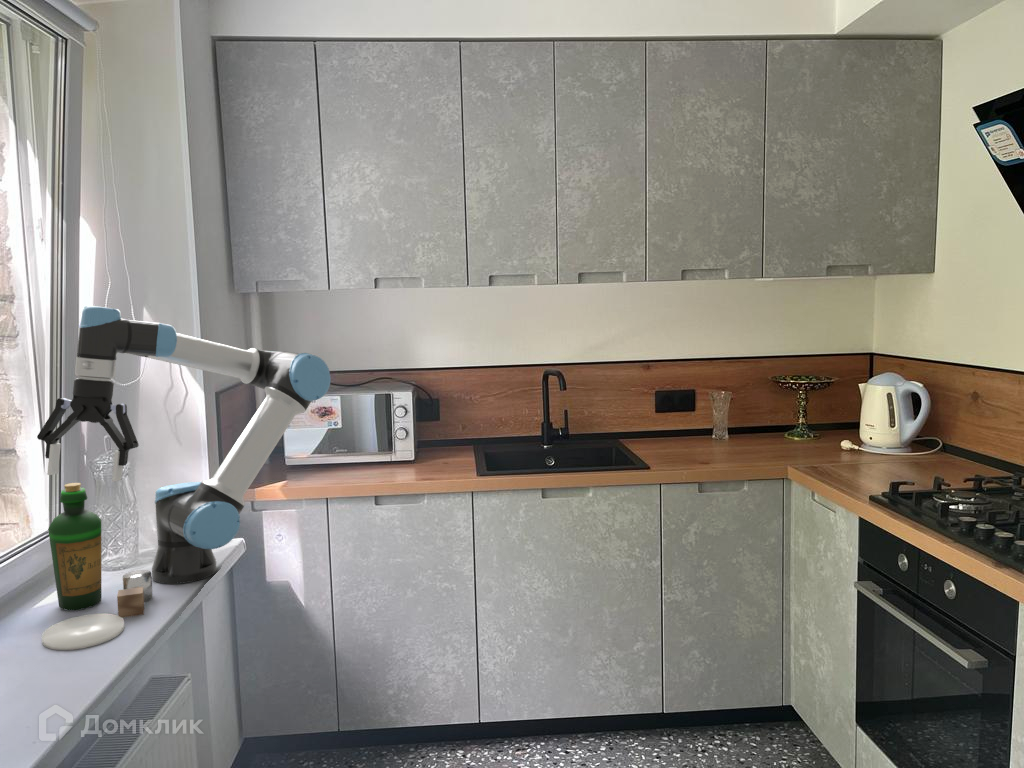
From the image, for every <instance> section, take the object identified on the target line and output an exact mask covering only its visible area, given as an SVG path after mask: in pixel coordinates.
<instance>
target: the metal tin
mask: <svg viewBox="0 0 1024 768" xmlns="http://www.w3.org/2000/svg"><path fill="white" fill-rule="evenodd" d="M152 582H153V579H152V570H148V569H139V570H133V571H132V570H131V571H130V572H126V573H125V574H123V575H122V590H124V589H131V588H139V587H143V590H144V604H145V603H147V602H150V601H151V600H152V599H153V597H154V596H153V583H152Z"/></svg>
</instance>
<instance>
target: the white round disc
mask: <svg viewBox="0 0 1024 768" xmlns="http://www.w3.org/2000/svg"><path fill="white" fill-rule="evenodd" d="M124 629H125V620H124V618H122V617H120V616H118V614H111V613H91V614H83V615H79V616H75V617H70V618H67V619H64V620H62V621H58V622H57V623H55V624H53V625H50V627H47V628H46V629H45V630H44V631H43V632H42V635H41V643H42V645H43V646H44V647H45V648H47V649H50V650H56V651H73V650H80V649H84V648H85V649H86V648H91V647H94V646H97V645H100V644H103V643H106V642H108V641H110V640H112V639H115V638H116V637H118V636H119V635H120V634H122V632H123V631H124Z"/></svg>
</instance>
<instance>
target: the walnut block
mask: <svg viewBox="0 0 1024 768" xmlns="http://www.w3.org/2000/svg"><path fill="white" fill-rule="evenodd" d="M116 596H117V598H116V599H117V600H116V601H117V615H118V616H120V617H122V618H123V619H125V618H127V617H128V618H129V617H136V616H143V615H145V603H144V590H143V587H139V588H131V589H124V590H123V589H118V590H117V595H116Z"/></svg>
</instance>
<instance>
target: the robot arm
mask: <svg viewBox="0 0 1024 768" xmlns="http://www.w3.org/2000/svg"><path fill="white" fill-rule="evenodd" d="M80 313H81V314H80V319H79V325H78V337H77V339H78V340H77V351H76V360H75V368H74V375H75V376H77V378H75V379H74V380H73V387H72V390H73V391H72V395H73V396H72V399H69V398H67V397H61V398H57V399H56V400H55V401H56V402H55V407H54V408H53V411H52V412H51V414H50V415H49V417H48V419H47V420H46V422H44V425H43V427H42V428H41V430H40V431H39V433H38V434H37V438H36V439H38V440H39V441H42V442H44V443H45V446H46V447H45V455H44V456H45V459H47V460H48V465H47V474H46V475H48V476H53V475H58V474H59V468H60V456H61V449H62V448H61V447H62V443H60V442H59V440H60V439H62V437H64V436H65V435H66V434H67V433H68V432H69V431H70V430H71V429H72V428H74V426H75V425H76V424H77V423H79V422H82V423H83V422H84V423H85V422H89V423H93V424H97V423H99V425H100V426H102V427H103V428H104V430H105V431H106V433H107V434H108V435H109V436H110V438H111V440H112V441H113V442H114V444H115V445H116V447H117V448H118V449H117V450H114V455H113V456H114V457H113V467H112V477H111V481H112V482H119V481H122V479H123V471H124V470H123V469H124V466H127V465H128V459H129V451H130V450H132V449H135V448H136V449H137V448H138V447H139V446H140V445H139V442H138V438H137V437H136V434H135V430H134V429H133V426H132V424H131V421H130V419H129V415H128V406H127V404H126V403H118V404H113V401H112V400H113V396H114V385H115V384H114V382H113V381H112V380H113V379H114V378H115V377H116V361H117V354H129V355H133V356H138V357H142V358H147V359H153V360H156V361H162V362H165V363H169V364H174V365H178V366H181V367H182V366H183V367H188V368H191V369H197V370H201V371H205V372H209V373H214V374H217V375H218V374H219V375H223V376H227V377H231V378H236V379H240V381H241V382H242V383H243V384H245V385H249V386H254V387H257V388H260V389H263V390H264V391H265V398H264V399H263V401H262V403H261V404H260V405H259V407H258V408H257V410H256V411H255V413H254V415H253V416H252V417H251V419H250V421H249V422H248V424H247V425H246V427H244V430H243V431H242V433H241V434H240V436H238V438H237V440H236V442H235V443H234V445H233V446H232V448H231V449H230V450H229V452H228V453H227V455H226V456H225V458H224V459H223V461H222V462H221V464H220V466H219V467H218V468H217V470H216V471H215V473H214V475H212V477H211V478H210V479H206V480H202V481H190V482H182V483H175V484H169V485H164V486H162V487H159V488H157V490H155V498H154V499H155V501H154V504H155V517H156V532H157V533H156V534H157V550H156V553H155V556H154V560H153V563H152V567H151V577H152V581H155V582H157V583H160V584H170V585H171V584H173V585H174V584H176V585H177V584H185V583H191V582H195V581H200V580H203V579H206V578H208V577H210V576H211V575H213V574H215V573H216V572H217V559H216V557H215V554H214V552H213V550H215V549H220V548H222V547H224V546H226V545H227V544H229V543H230V542H232V541H233V539H234V538H236V535H237V534H238V532H239V530H240V527H241V521H240V520H241V519H240V518H241V517H240V514H241V512H242V511H243V509H244V508H245V505H246V504H245V500H244V496H245V494H246V492H247V491H248V489H249V488H250V486H251V485H252V484H253V482H254V480H255V479H256V477H257V476H258V474H259V473H260V471H261V470H262V468H263V466H264V464H265V463H266V462H267V460H268V459H269V458H270V456H271V454H272V452H273V451H274V450H275V448H276V447H277V445H278V443H279V441H280V440H281V438H282V437H283V435H284V433H285V432H286V431H287V429H288V428H289V426H290V424H291V423H292V422H293V420H294V419H295V417H296V416H297V415H300V414H304V413H306V410H308V408H309V406H310V405H311V403H312V402H313V401H314V402H315V401H318V400H320V399H322V398H323V397H324V396H325V395H326V394H327V393H328V391H329V389H330V386H331V379H332V378H331V377H332V376H331V373H330V368H329V366H328V364H327V363H326V362H325V360H324V359H322V358H321V357H319V356H317V355H314V354H311V353H308V352H301V353H299V352H290V351H272V350H262V349H258V348H255V347H254V348H253V347H251V348H249V349H242V348H238V347H236V346H235V347H234V346H230V345H227V344H222V343H219V342H215V341H210V340H206V339H202V338H197V337H194V336H190V335H186V334H182V333H178V332H177V330H176V328H175V327H174V325H171V324H166V323H162V322H152V321H144V320H143V321H142V320H133V319H128V318H127V319H126V318H122V315H121V314H122V312H121V311H120V309H118V308H112V307H106V306H105V307H103V306H97V305H96V306H95V305H86V306H84V307H83V308H82V309H81V312H80ZM69 408H71V410H72V411H73V412H72V413H70V414H69V416H67V419H65V420H64V421H63V422H62V423H61V424H60V425H59V426H58V424H59V423H60V421H61V419H62V418H63V417H64V415H65V413H66V411H67V410H68V409H69ZM112 411H113V414H114V415H115V417H116V419H117V422H118V425H119V428H120V430H121V431H120V430H119V428H118V427H117V426H116V424H115V423H114V419H113V418H112V417H111V415H110V413H111V412H112ZM57 426H58V427H57ZM56 427H57V428H56ZM121 432H122V433H121Z"/></svg>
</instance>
